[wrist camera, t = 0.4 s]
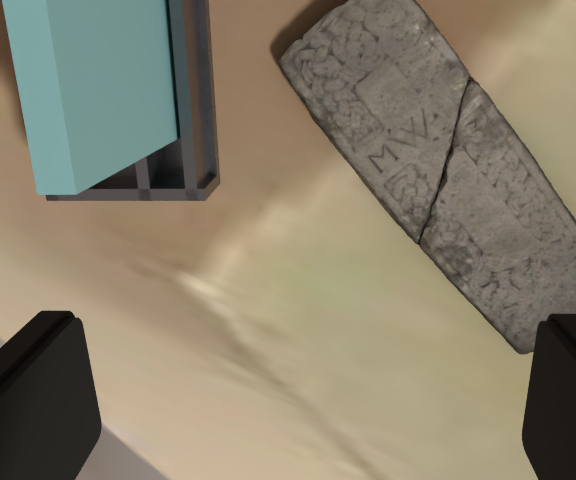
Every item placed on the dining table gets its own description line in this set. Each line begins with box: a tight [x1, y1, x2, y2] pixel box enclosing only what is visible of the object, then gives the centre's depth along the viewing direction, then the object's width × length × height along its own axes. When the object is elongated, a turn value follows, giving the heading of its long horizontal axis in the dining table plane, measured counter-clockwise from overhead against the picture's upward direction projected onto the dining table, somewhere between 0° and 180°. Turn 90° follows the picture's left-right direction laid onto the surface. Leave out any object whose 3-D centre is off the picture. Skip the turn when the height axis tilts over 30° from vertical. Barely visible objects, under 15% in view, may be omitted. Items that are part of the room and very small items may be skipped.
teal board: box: [2, 0, 181, 195], centre depth 27 cm, size 12×2×18 cm, turn 1°
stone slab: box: [278, 0, 576, 354], centre depth 38 cm, size 10×3×30 cm
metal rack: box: [46, 0, 220, 201], centre depth 35 cm, size 20×11×5 cm, turn 1°
